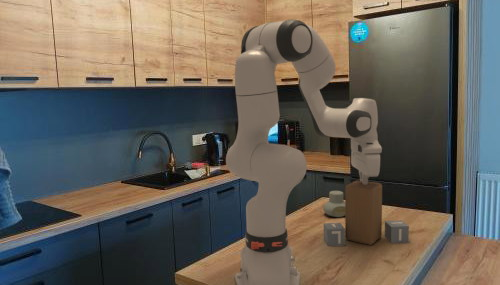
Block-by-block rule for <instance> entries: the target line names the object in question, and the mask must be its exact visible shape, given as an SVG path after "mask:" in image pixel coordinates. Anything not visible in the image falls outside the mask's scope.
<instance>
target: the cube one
mask: <svg viewBox="0 0 500 285" xmlns="http://www.w3.org/2000/svg"><path fill="white" fill-rule="evenodd" d="M409 228H410V226H409V225H408V224H407V223H406V222H404V221H403V220H399V219H398V220H385V221H384V238H385V239H386V240H387V241H388V242H389V243H390V244H407V243H409V241H410V239H409V237H410V236H409V235H410V233H409V231H410V229H409Z"/></svg>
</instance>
